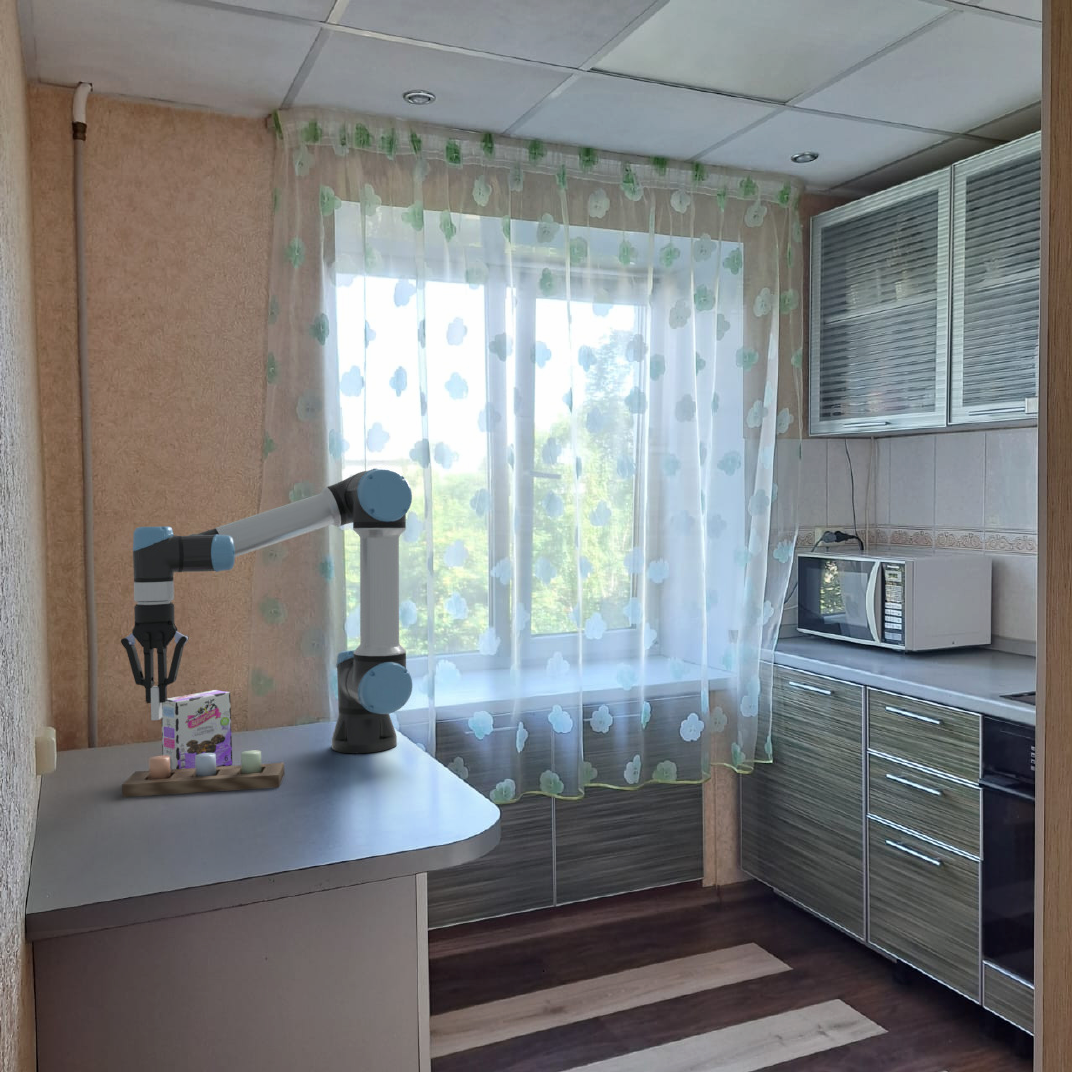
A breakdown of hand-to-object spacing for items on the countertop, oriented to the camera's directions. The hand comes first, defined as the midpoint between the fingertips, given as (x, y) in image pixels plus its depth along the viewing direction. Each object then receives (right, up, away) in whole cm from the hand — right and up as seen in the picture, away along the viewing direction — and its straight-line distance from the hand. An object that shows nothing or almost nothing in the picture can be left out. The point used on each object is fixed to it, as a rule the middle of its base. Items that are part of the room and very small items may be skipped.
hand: (156, 718), depth 197 cm
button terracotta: (+1, -12, 0) cm, 12 cm away
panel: (+10, -14, +2) cm, 17 cm away
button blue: (+9, -12, +2) cm, 15 cm away
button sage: (+18, -12, +3) cm, 22 cm away
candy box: (+3, -14, +15) cm, 21 cm away
